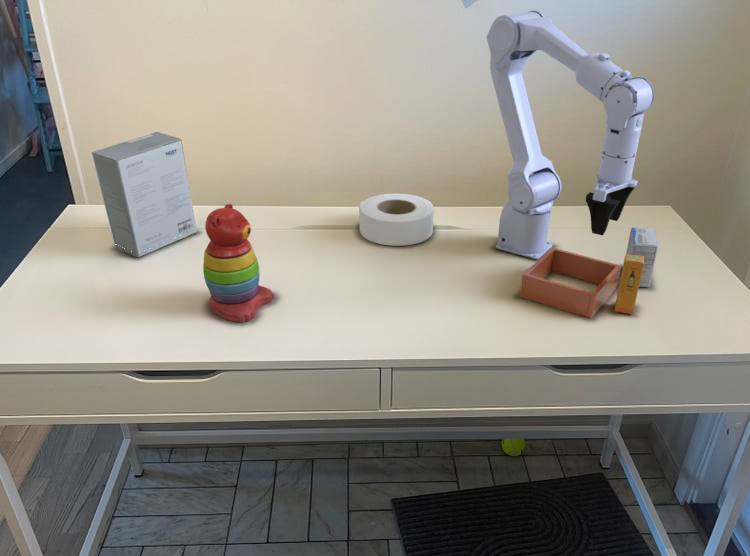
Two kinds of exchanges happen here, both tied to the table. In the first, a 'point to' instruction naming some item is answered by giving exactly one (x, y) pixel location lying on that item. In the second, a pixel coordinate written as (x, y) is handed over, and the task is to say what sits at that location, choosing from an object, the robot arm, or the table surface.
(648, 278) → the medicine box
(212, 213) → the stacking bear
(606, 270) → the terracotta planter box
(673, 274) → the table surface
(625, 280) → the supplement box
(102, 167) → the hard drive box
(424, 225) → the tape roll
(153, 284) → the table surface
